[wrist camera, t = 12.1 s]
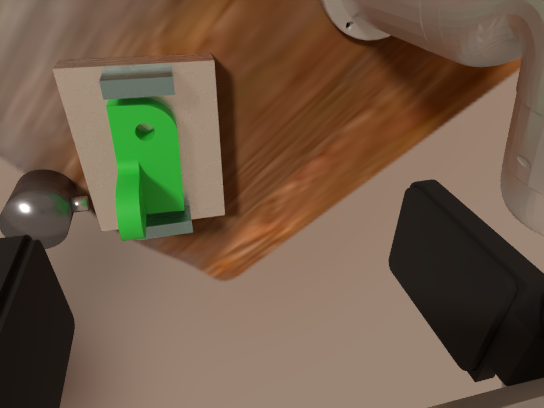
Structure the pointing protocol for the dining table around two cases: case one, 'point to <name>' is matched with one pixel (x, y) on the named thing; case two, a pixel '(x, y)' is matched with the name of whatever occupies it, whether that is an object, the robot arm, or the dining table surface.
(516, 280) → the robot arm
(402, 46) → the dining table surface
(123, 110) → the mechanical part
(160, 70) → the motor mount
